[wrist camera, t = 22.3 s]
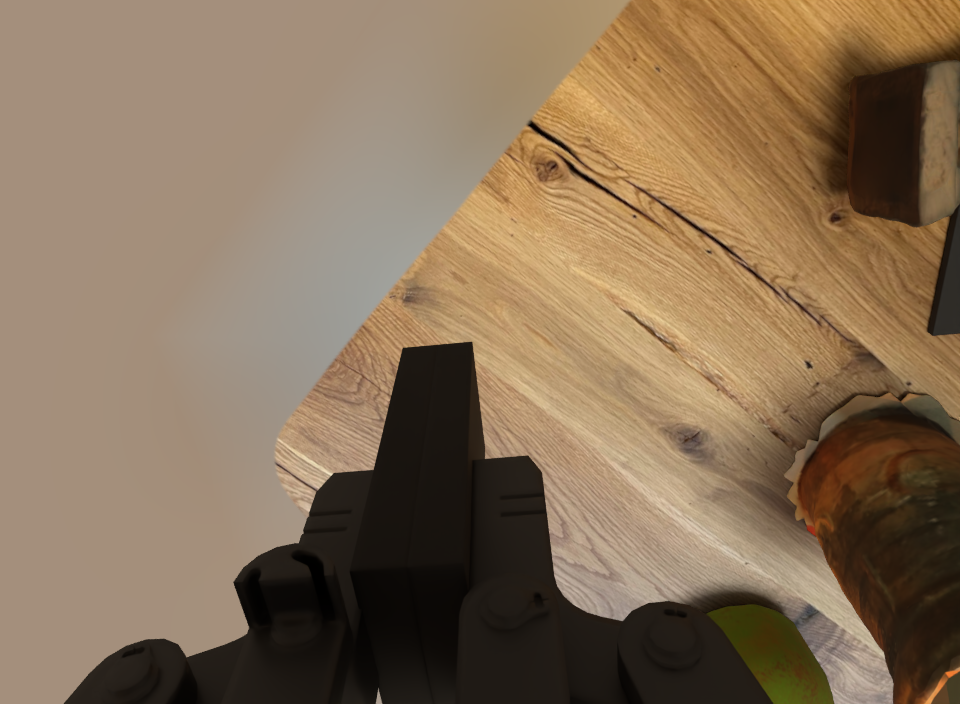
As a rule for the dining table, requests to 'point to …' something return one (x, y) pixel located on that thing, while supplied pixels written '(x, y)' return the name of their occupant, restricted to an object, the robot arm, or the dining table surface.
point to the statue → (905, 143)
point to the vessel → (892, 531)
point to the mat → (948, 285)
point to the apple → (775, 654)
